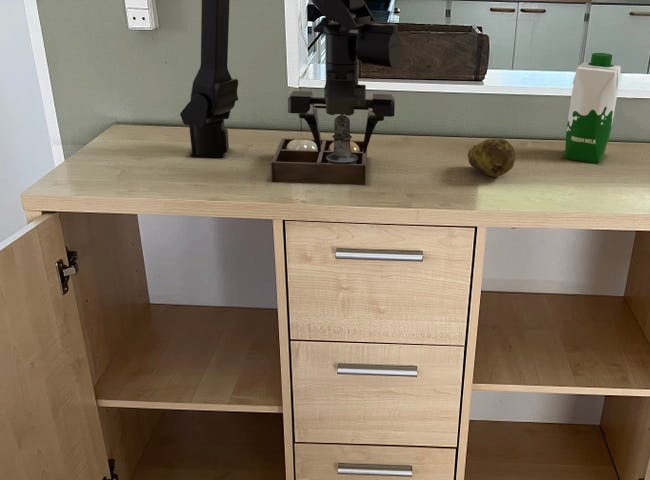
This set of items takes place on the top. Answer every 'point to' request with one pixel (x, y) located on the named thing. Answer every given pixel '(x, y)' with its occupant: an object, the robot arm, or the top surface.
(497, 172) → the potato
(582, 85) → the milk carton
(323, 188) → the top surface
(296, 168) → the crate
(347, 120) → the grey chess piece
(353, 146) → the brown egg
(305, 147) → the cream egg
